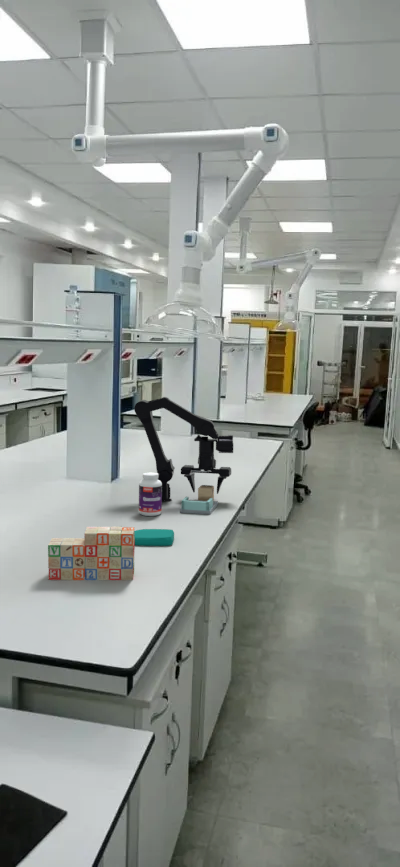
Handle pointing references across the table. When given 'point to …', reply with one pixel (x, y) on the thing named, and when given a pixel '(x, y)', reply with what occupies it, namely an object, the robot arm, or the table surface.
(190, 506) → the dock
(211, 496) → the cardboard box with slot
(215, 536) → the table surface
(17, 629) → the table surface
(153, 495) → the pill bottle
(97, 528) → the stack of blocks
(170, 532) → the teal flat block
